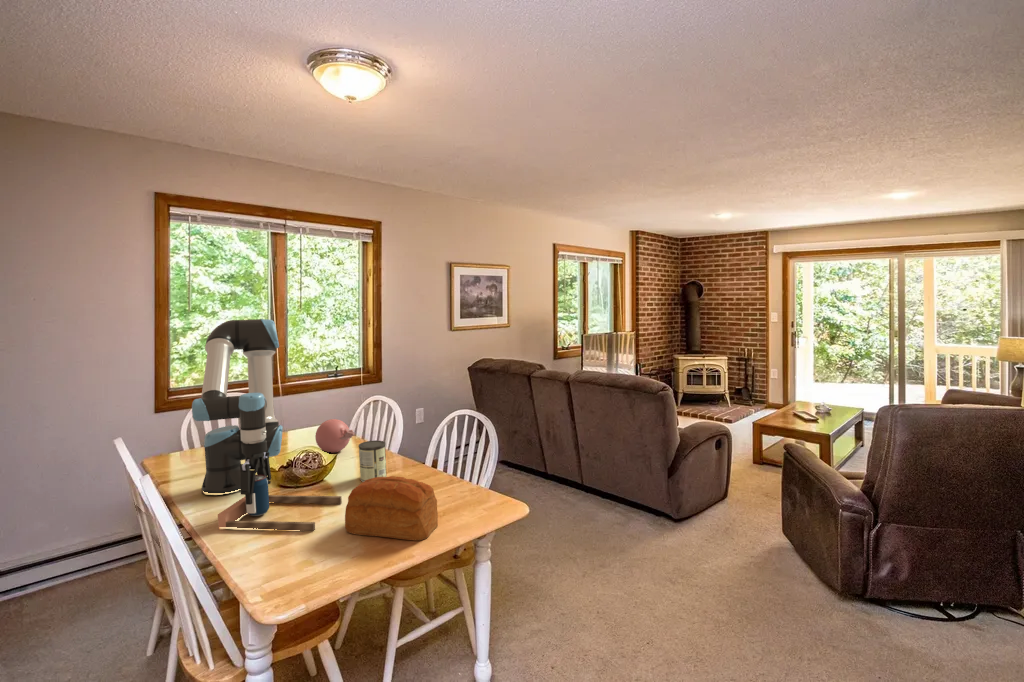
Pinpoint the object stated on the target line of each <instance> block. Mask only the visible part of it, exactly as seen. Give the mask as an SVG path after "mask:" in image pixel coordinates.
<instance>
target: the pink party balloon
mask: <svg viewBox="0 0 1024 682" xmlns="http://www.w3.org/2000/svg"><path fill="white" fill-rule="evenodd" d="M355 434H356V433H355V432H354V429H350V428H349V426H348V424H346V422H344V421H342V420H340V419H338V418H337V419H336V418H332V419H331V418H330V419H327V420H325V421H323V422H322V423H321V424H320V425H319V426H318V427H317V429H316V432H315V436H314V437H315V442H316V445H317V446H318V447H319V448H320V449H321V450H322V451H323V450H324V451H323V452H325V451H327V452H326V453H329V452H331V453H330V454H332V453H338V452H341V451H343V450H344V449H345V448H346V447H347V446H348V445H349V442H350V440H351V438H353V437H354V436H355Z"/></svg>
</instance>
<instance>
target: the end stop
mask: <svg viewBox="0 0 1024 682" xmlns="http://www.w3.org/2000/svg"><path fill="white" fill-rule="evenodd" d="M246 513H247V512H246V499H245V496H244V497H242V498H240V499H238V500H237V501H236V502H235V503H233V504H231V505H230V506H228V507H227V508H225V509H224V510H222V511H221V512H219V513H218V514H217V523H218V528H219V527H226V522H227V521H235V520H237V519H238V518H240V517H241V516H242V515H244V514H246Z"/></svg>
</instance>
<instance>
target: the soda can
mask: <svg viewBox="0 0 1024 682" xmlns="http://www.w3.org/2000/svg"><path fill="white" fill-rule="evenodd" d="M253 493H255V502H256V513H248V514H247V515H249V516H250V517H258V516H262V515H265V514H266V513H268V511H269V509H270V503H269V495H270V494H269V484H268V480H267V479H266V476H265V475H257V474H256V475H255V483H254V490H253ZM244 497H245V499H246V495H245V496H244ZM246 512H247V509H246Z"/></svg>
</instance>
